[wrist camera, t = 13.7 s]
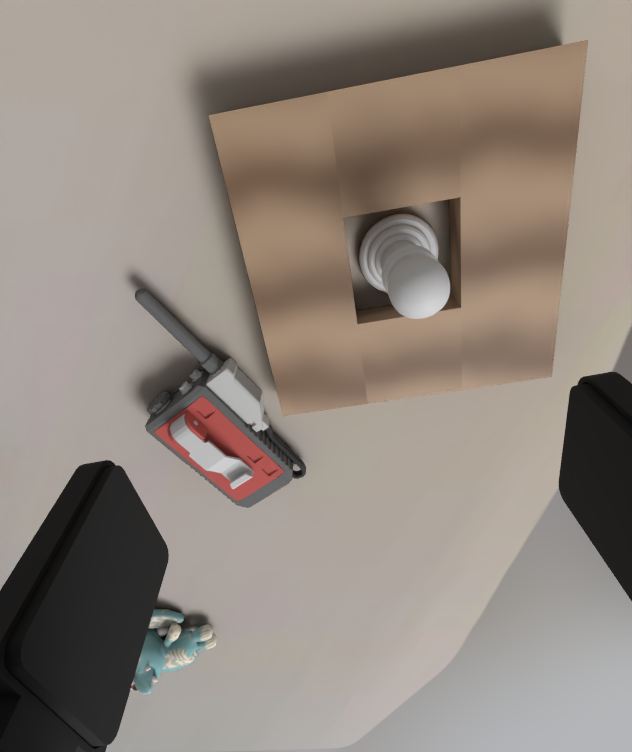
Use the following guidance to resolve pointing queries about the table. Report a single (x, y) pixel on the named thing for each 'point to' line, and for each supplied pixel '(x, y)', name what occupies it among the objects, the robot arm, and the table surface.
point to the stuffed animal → (169, 648)
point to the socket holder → (402, 189)
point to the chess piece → (405, 265)
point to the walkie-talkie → (219, 423)
